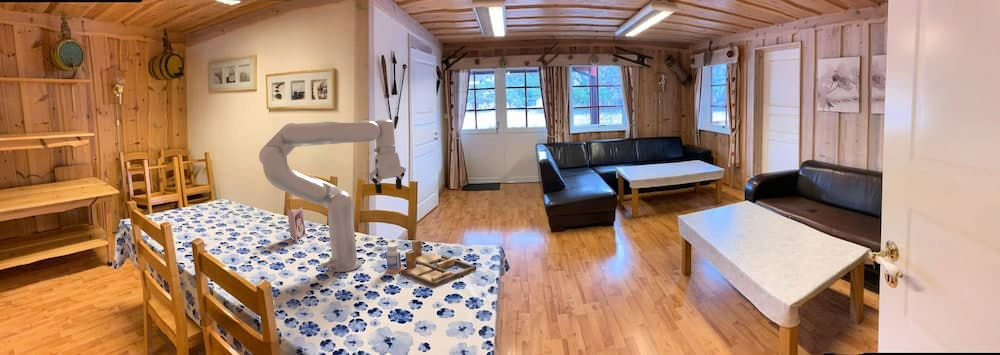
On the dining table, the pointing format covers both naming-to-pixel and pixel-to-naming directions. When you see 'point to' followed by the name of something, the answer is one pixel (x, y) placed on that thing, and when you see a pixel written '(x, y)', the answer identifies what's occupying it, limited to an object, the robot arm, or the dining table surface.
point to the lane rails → (440, 273)
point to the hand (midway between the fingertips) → (389, 191)
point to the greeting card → (296, 224)
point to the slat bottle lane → (430, 256)
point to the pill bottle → (393, 257)
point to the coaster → (395, 271)
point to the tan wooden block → (412, 264)
